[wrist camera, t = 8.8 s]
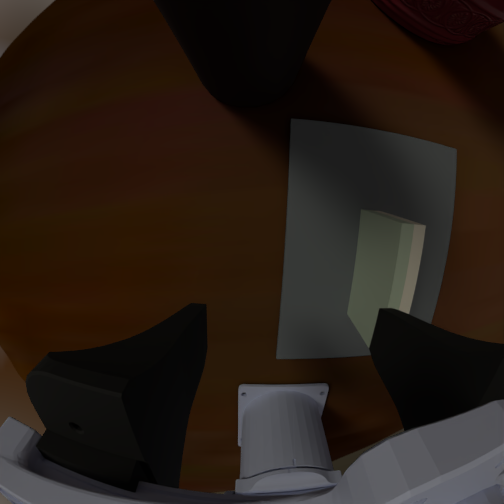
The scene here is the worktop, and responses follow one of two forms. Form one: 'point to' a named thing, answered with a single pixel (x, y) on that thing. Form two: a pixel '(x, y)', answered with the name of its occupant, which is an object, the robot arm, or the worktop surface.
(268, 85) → the bottle
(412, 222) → the tile
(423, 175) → the mat
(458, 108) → the worktop surface
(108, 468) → the robot arm
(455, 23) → the canister
